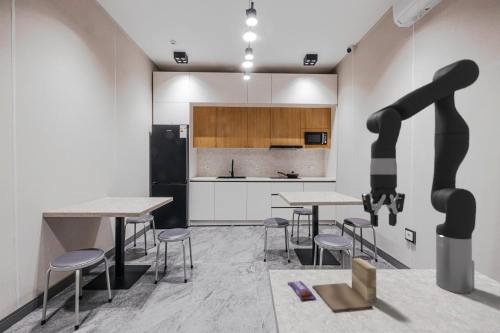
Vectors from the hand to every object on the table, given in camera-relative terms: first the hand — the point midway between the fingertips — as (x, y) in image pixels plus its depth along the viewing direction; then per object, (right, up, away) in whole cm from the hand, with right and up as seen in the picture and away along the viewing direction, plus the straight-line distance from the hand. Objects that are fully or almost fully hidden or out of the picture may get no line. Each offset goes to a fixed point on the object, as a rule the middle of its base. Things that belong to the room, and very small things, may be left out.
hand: (383, 225), depth 78 cm
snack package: (-26, -22, +1) cm, 34 cm away
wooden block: (-7, -21, -1) cm, 23 cm away
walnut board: (-15, -21, -2) cm, 26 cm away
